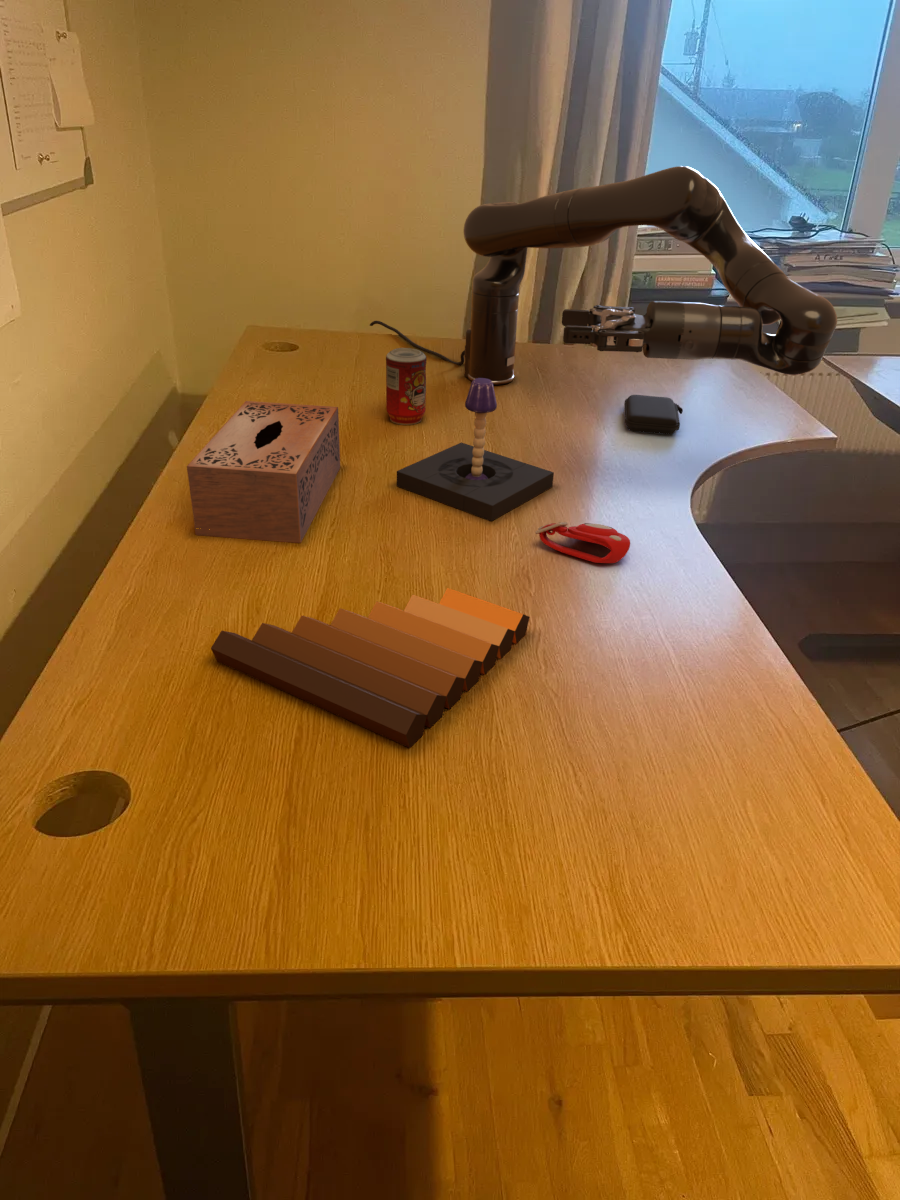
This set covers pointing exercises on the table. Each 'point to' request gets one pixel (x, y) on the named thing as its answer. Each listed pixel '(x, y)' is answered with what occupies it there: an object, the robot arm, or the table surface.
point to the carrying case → (651, 414)
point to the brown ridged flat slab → (381, 659)
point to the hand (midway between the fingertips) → (562, 325)
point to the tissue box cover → (265, 472)
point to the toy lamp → (480, 420)
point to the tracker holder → (588, 540)
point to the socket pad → (475, 481)
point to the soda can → (405, 385)
